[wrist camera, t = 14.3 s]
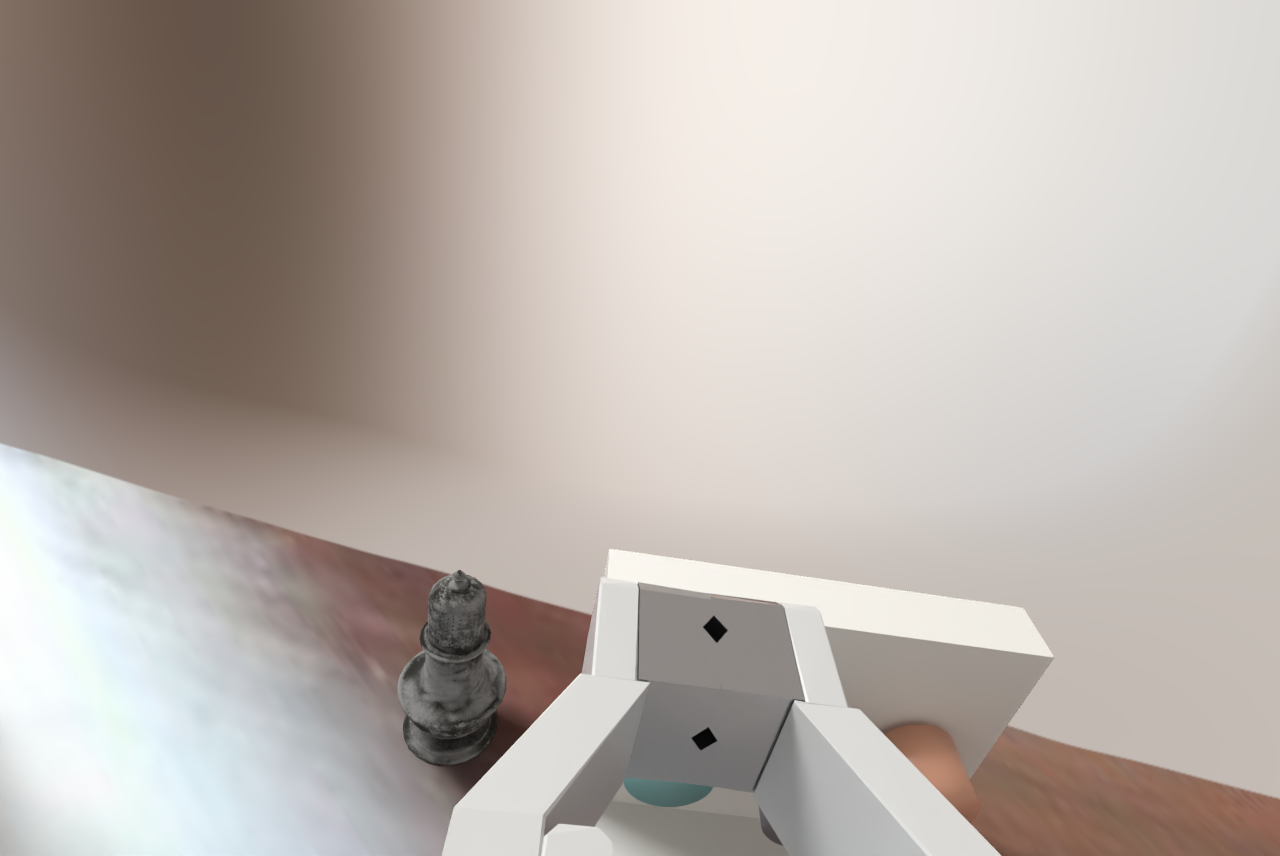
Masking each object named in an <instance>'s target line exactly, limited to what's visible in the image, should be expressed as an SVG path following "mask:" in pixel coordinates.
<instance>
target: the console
mask: <svg viewBox="0 0 1280 856" xmlns="http://www.w3.org/2000/svg"><path fill="white" fill-rule="evenodd" d="M604 577H605V578H611V579H617V580H623V581H629V582H635V583H637V584H638V582H640V583H646V584H653V585H659V586H665V587H671V588H677V589H683V590H690V591H696V592H702V593H710V594H718V595H725V596H733V597H741V598H749V599H756V600H764V601H772V602H777V603H779V602H783V603H791V604H799V605H807V606H815V607H816V608H817V609H818V610H819V611H820V613H821V616H822V619H823V623H824V626H825V630H826V633H827V636H828V640H829V643H830V647H831V650H832V653H833V657H834V660H835V663H836V667H837V670H838V674H839V677H840V680H841V684H842V687H843V691H844V694H845V697H846V701H847V704H848V707H849V708H855V709H860V710H861V711H862V712H863V713H864V714H865V715H866V716H867V717H868V718H869V719H870V720H871V721H872V722H873V723H874V724H875V726H876V727H877V728H878V729H879V730H880V731H881V732H882V733H883V734H885V733H887V732H889V731H891V730H893V729H896V728H899V727H903V726H908V725H930V726H935V727H938V728H940V729H943V730H944V731H946V732H947V733H948V734H949V735H950V736H951V737H952V739H953V741H954V743H955V745H956V748H957V750H958V753H959V755H960V757H961V760H962V762H963V765H964V767H965V770H966V772H967V774H968V777H969V779H970V778H971V777H972V775H973V774H974V772H975V771H976V769H977V768H978V767H979V765H980V764H981V762H982V761H983V759H984V758H985V756H986V755H987V754H988V752H989V751H990V749H991V748H992V746H993V745H994V744H995V742H996V741H997V739H998V738H999V736H1000V735H1001V733H1002V732H1003V731H1004V729H1005V728H1006V726H1007V725H1008V723H1009V722H1010V720H1011V719H1012V718H1013V716H1014V715H1015V713H1016V712H1017V711H1018V709H1019V708H1020V706H1021V705H1022V703H1023V702H1024V700H1025V699H1026V697H1027V696H1028V694H1029V693H1030V692H1031V690H1032V689H1033V687H1034V686H1035V685H1036V683H1037V682H1038V680H1039V679H1040V677H1041V676H1042V675H1043V673H1044V672H1045V670H1046V669H1047V667H1048V666H1049V664H1050V663H1051V662H1052V660H1053V659H1054V656H1053V655H1052V653H1051V652H1050V650H1049V648H1048V647H1047V645H1046V644H1045V642H1044V640H1043V639H1042V637H1041V636H1040V634H1039V632H1038V631H1037V629H1036V628H1035V626H1034V624H1033V623H1032V621H1031V620H1030V618H1029V616H1028V615H1027V613H1026V612H1025V610H1024V608H1021V607H1014V606H1007V605H1000V604H993V603H986V602H979V601H972V600H965V599H958V598H951V597H944V596H937V595H929V594H923V593H916V592H908V591H902V590H894V589H888V588H881V587H874V586H866V585H860V584H853V583H846V582H839V581H831V580H825V579H818V578H811V577H804V576H797V575H790V574H783V573H776V572H768V571H762V570H755V569H747V568H740V567H734V566H727V565H720V564H713V563H706V562H699V561H692V560H685V559H678V558H671V557H664V556H656V555H650V554H643V553H636V552H629V551H622V550H615V549H609V554H608V559H607V564H606V569H605V575H604ZM753 794H754V793H752V792H745V791H738V790H731V789H724V788H718V787H713V789H712V791H711V792H710V793H709V794H708V795H707V796H706V797H704V798H703V799H701V800H699V801H697V802H695V803H692V804H689V805H685V806H679V807H659V806H654V805H649V804H646V803H644V802H641V801H639V800H637V799H636V798H634V797H633V796H632V795H631V794H630V793H628V791H627V790H626V788H625V786H624V783H623V784H622V786H621V787H620V789H619V790H618V792H617V793H616V795H615V796H614V798H613V799H612V801H611V802H610V804H609V805H608V807H607V808H606V810H605V811H604V813H603V814H602V816H601V817H600V819H599V820H598V822H597V823H596V825H595V826H594V827H599V828H600V829H601V830H602V831H603V832H604V834H605V835H606V836H607V837H608V838H609V839H610V840H611V841H612V856H789V854H788V852H787V851H786V849H785V847H784V846H782V845H779V844H776V843H774V842H773V841H771V840H770V839H768V838H767V837H766V836H765V835H764V833H763V831H762V828H761V821H760V814H759V806H758V804H757V802H756V801H755V799H754V797H753Z"/></svg>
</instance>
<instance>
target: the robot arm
mask: <svg viewBox="0 0 1280 856" xmlns="http://www.w3.org/2000/svg"><path fill="white" fill-rule="evenodd" d="M625 778H634V779H645V780H657V781H668V782H680V783H690V784H697V785H704V786H711V787H718V788H724V789H731V790H738V791H745V792H752V793H754V794H753V797H754V799H755V801H756V802H757V804H758V805H759V807H760V809H761V810H762V812H763V813H764V815H765V817H766V818H767V820H768V822H769V823H770V825H771V826H772V828H773V830H774V831H775V833H776V835H777V836H778V838H779V839H780V841H781V843H782V844H783V846H784V847H785V849H786V851H787V852H788V854H789V856H1001V855H1000V854H999V853H998V852H997V851H996V850H995V849H994V848H993V847H992V846H991V845H990V844H989V842H988V841H987V840H986V839H985V838H984V837H983V836H982V835H981V834H980V833H979V832H978V831H977V830H976V829H975V828H974V827H973V826H972V825H971V824H970V823H969V822H968V821H967V820H966V819H965V818H964V817H963V816H962V815H961V814H960V812H959V811H958V810H957V809H956V808H955V807H954V806H953V805H952V804H951V803H950V802H949V801H948V800H947V799H946V798H945V797H944V796H943V795H942V794H941V793H940V792H939V791H938V790H937V789H936V788H935V787H934V786H933V785H932V783H931V782H930V781H929V780H928V779H927V778H926V777H925V776H924V775H923V774H922V773H921V772H920V771H919V770H918V769H917V768H916V767H915V766H914V765H913V764H912V763H911V762H910V761H909V760H908V759H907V758H906V757H905V756H904V755H903V753H902V752H901V751H900V750H899V749H898V748H897V747H896V746H895V745H894V744H893V743H892V742H891V741H890V740H889V739H888V738H887V737H886V736H885V735H884V734H883V733H882V732H881V731H880V730H879V729H878V728H877V727H876V726H875V724H874V723H873V722H872V721H871V720H870V719H869V718H868V717H867V716H866V715H865V714H864V713H863V712H862V711H861V710H860V709H855V708H849V707H848V704H847V701H846V697H845V694H844V691H843V687H842V684H841V680H840V677H839V674H838V670H837V667H836V663H835V660H834V657H833V653H832V650H831V647H830V643H829V640H828V636H827V633H826V630H825V626H824V623H823V619H822V616H821V613H820V611H819V610H818V609H817V608H816V607H815V606H807V605H799V604H791V603H783V602H779V603H777V602H772V601H764V600H756V599H749V598H741V597H733V596H725V595H718V594H710V593H702V592H696V591H690V590H683V589H677V588H671V587H665V586H659V585H653V584H646V583H640V582H638V584H637V583H635V582H629V581H623V580H617V579H611V578H605V577H601V578H600V580H599V583H598V588H597V593H596V598H595V603H594V608H593V613H592V618H591V623H590V628H589V634H588V639H587V645H586V652H585V658H584V664H583V670H582V674H579V675H578V677H577V678H576V679H575V680H574V681H573V682H572V683H571V684H570V685H569V686H568V687H567V688H566V689H565V690H564V691H563V692H562V693H561V695H560V696H559V697H558V698H557V699H556V700H555V701H554V702H553V703H552V704H551V705H550V706H549V707H548V708H547V709H546V710H545V711H544V713H543V714H542V715H541V716H540V717H539V718H538V719H537V720H536V721H535V722H534V723H533V724H532V725H531V726H530V727H529V728H528V729H527V731H526V732H525V733H524V734H523V735H522V736H521V737H520V738H519V739H518V740H517V741H516V742H515V743H514V744H513V745H512V746H511V747H510V749H509V750H508V751H507V752H506V753H505V754H504V755H503V756H502V757H501V758H500V759H499V760H498V761H497V762H496V763H495V764H494V765H493V767H492V768H491V769H490V770H489V771H488V772H487V773H486V774H485V775H484V776H483V777H482V778H481V779H480V780H479V781H478V782H477V783H476V785H475V786H474V787H473V788H472V789H471V790H470V791H469V792H468V793H467V794H466V795H465V796H464V797H463V798H462V799H461V800H460V801H459V803H458V804H457V805H456V806H455V807H454V809H453V813H452V817H451V821H450V825H449V829H448V833H447V837H446V841H445V845H444V849H443V853H442V856H612V841H611V840H610V839H609V838H608V837H607V836H606V835H605V834H604V832H603V831H602V830H601V829H600V828H599V827H594V826H595V825H596V823H597V822H598V820H599V819H600V817H601V816H602V814H603V813H604V811H605V810H606V808H607V807H608V805H609V804H610V802H611V801H612V799H613V798H614V796H615V795H616V793H617V792H618V790H619V789H620V787H621V786H622V784H623V782H624V779H625Z"/></svg>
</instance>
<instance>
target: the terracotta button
mask: <svg viewBox="0 0 1280 856" xmlns="http://www.w3.org/2000/svg"><path fill="white" fill-rule="evenodd" d="M884 735H885V736H886V737H887V738H888V739H889V740H890V741H891V742H892V743H893V744H894V745H895V746H896V747H897V748H898V749H899V750H900V751H901V752H902V753H903V755H904V756H905V757H906V758H907V759H908V760H909V761H910V762H911V763H912V764H913V765H914V766H915V767H916V768H917V769H918V770H919V771H920V772H921V773H922V774H923V775H924V776H925V777H926V778H927V779H928V780H929V781H930V782H931V783H932V785H933V786H934V787H935V788H936V789H937V790H938V791H939V792H940V793H941V794H942V795H943V796H944V797H945V798H946V799H947V800H948V801H949V802H950V803H951V804H952V805H953V806H954V807H955V808H956V809H957V810H958V811H959V812H960V814H961V815H962V816H963V817H964V818H965V819H966V820H967V821H968V822H969V823H971V822H972V821H973V820H974V819H975V818H976V816H977V815H978V812H979V809H980V804H979V801H978V798H977V796H976V794H975V791H974V789H973V786H972V784H971V782H970V779H969V777H968V774H967V772H966V770H965V767H964V765H963V762H962V760H961V757H960V755H959V753H958V750H957V748H956V745H955V743H954V741H953V739H952V737H951V736H950V735H949V734H948V733H947V732H946V731H944V730H943V729H940V728H938V727H935V726H930V725H908V726H903V727H899V728H896V729H893V730H891V731H889V732H887V733H885V734H884Z"/></svg>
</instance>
